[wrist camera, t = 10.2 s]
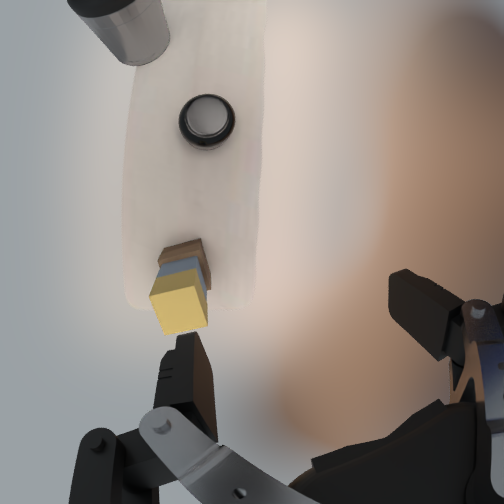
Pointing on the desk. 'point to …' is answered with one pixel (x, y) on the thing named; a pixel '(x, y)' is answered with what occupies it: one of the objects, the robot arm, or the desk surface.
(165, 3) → the desk surface
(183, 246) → the tower base
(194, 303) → the top block
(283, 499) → the robot arm
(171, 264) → the tower mid
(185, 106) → the supplement bottle
